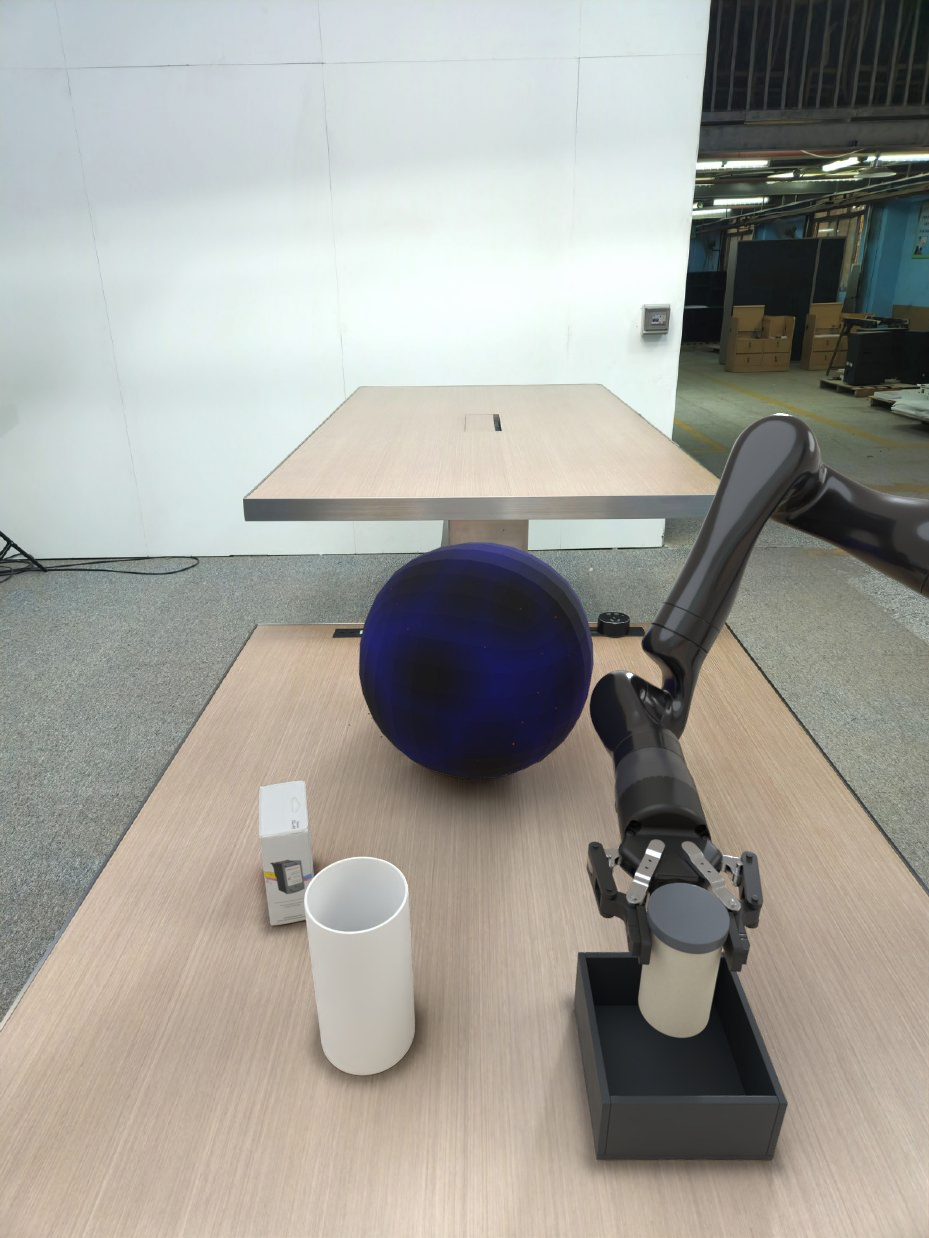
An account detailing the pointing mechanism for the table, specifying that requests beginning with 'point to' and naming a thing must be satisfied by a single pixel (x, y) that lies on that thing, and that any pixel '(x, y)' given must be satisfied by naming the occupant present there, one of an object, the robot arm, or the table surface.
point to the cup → (361, 963)
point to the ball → (476, 660)
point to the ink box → (285, 849)
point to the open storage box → (673, 1072)
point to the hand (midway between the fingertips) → (691, 959)
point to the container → (682, 958)
